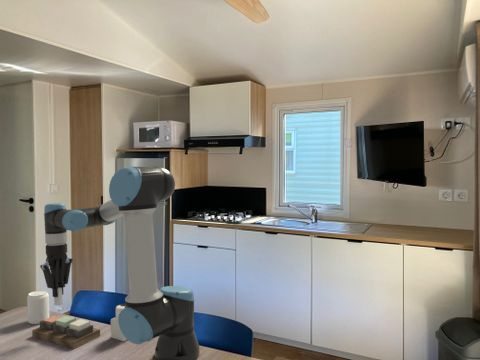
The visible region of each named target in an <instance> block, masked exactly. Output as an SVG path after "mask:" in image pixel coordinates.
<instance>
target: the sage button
mask: <svg viewBox="0 0 480 360" xmlns="http://www.w3.org/2000/svg"><path fill="white" fill-rule="evenodd" d="M75 321H77V319H76V317H74V316H69V315H65V316H62V318H60V319H57V320H56V325H57V326H61V327H67V326H69V324H70V323H72V322H75Z"/></svg>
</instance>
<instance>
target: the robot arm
mask: <svg viewBox="0 0 480 360" xmlns="http://www.w3.org/2000/svg"><path fill="white" fill-rule="evenodd" d="M108 185H109V187H108V193H109V198H110V200H107V201H106V202H103V203H102V204H100V205H98V206H93V207H86V208H76V209H67V206H66V203H63V202H57V203H56V202H54V203H46V204H45V205H44V213H43V218H44V219H43V220H44V235H45V236H44V237H45V238H44V239H45V240H44V241H45V244H46V245H45V255H46V258H45V262H44V263H43V264H40V266H39V267H40V269H41V271H42V273H43V276H44V279H45V283H46V287H47V288H48V289H51V290H52V297H53V301H54V303H53V304H54V305H56V306H61V305H62V306H63V296H64V292H65V291H64V288H65V287H66V285H68V284H69V279H70V278H69V277H70V272H71V265H72V264H73V260H74V259H73V258H71V257H70V258H69V257H68V255H67V253H68V243H67V242H68V234H67V233H68V232H67V231H71V232H79V231H80V232H81V231H82V230H84V229H89V228H93V227H94V228H95V227H100V226H101V227H102V226H108V225H112V224H114V223H115V222H116V220H117V219H119V218H121V217H124V229H125V230H124V231H125V233H124V234H125V242H126V243H125V244H126V257H127V258H126V259H127V272H128V284H129V286H128V287H129V293H128V294H127V296H126V297H125V298H124V299H125V303H124V304H126V308H124V309H123V310H121V312H120V314H119V317H118V322H119V327H120V330H121V332H122V334H123V335H124V336H125V338H126V339H127V340H126V341H128V342H130V343H132V344H134V345H141V344H142V345H143V344H144V343H146V342H151V341H152V340H153V339H155V338H158V339H157V342H156V345H155V349H154V358H155V360H196V359H197V358H198V357H199V356H200V353H201V352H200V349H201V348H200V344H199V341H198V338H197V336H196V333H195V299H194V296H195V295H194V292H193V290H192V289H191V288H189V287H187V286H179V285H167V286H163V287H161V288H158V274H157V273H158V272H157V259H156V249H155V248H156V247H155V232H154V219H153V214H154V212H155V211H156V210H157V209H158V207H157V206H158V204H159V203H161V202H164V201H166V200H168V199H169V198H170V197H172V195H173V193H174V192H175V189H176V180H175V177H174V175H173V174H172V173H171V172H170V170H168V169H166V168H165V167H162V166H128V167H122V168H119V169H118V170H116V171H115V172H114V174H113V176H111V179H110V182H109V184H108Z"/></svg>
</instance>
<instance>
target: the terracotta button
mask: <svg viewBox="0 0 480 360" xmlns="http://www.w3.org/2000/svg"><path fill="white" fill-rule="evenodd" d="M60 318H61V316H58V317H57V315H52V316H49V318H47V319H44V320H43V322H46V323H50V324H52V323H55V322H56V320H57V319H60Z"/></svg>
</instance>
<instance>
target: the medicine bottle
mask: <svg viewBox="0 0 480 360" xmlns="http://www.w3.org/2000/svg"><path fill="white" fill-rule="evenodd" d="M124 308H126V303H120V304H118V305H116V306H115V317H113V318H111V319H110V337H111V338H112V339H115V340H117V341H121V342H126V341H128V340H127V339H126V338H125V336H124V335H123V334H122V332H121V330H120V327H119V322H118V317H119V314H120V312H121V310H123V309H124Z"/></svg>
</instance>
